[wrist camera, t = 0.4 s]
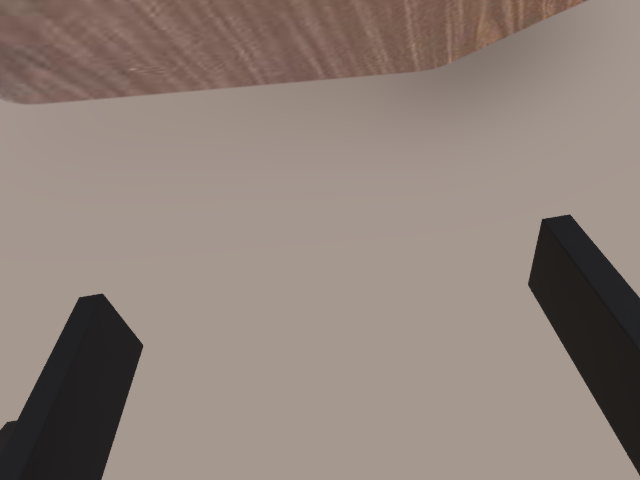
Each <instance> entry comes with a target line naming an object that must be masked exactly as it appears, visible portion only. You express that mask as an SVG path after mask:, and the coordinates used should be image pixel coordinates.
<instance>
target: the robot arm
mask: <svg viewBox="0 0 640 480" xmlns="http://www.w3.org/2000/svg"><path fill="white" fill-rule="evenodd" d="M528 285H529V287H530V289H531V291H532V292H533V294H534V296H535V298H536V299H537V301H538V302H539V304H540V306H541V308H542V309H543V311H544V313H545V314H546V316H547V318H548V320H549V321H550V323H551V325H552V327H553V328H554V330H555V332H556V333H557V335H558V337H559V338H560V340H561V342H562V344H563V345H564V347H565V349H566V351H567V352H568V354H569V355H570V357H571V359H572V361H573V362H574V364H575V366H576V368H577V369H578V371H579V373H580V374H581V376H582V378H583V379H584V381H585V383H586V385H587V386H588V388H589V390H590V391H591V393H592V395H593V396H594V398H595V400H596V402H597V403H598V405H599V407H600V408H601V410H602V412H603V414H604V415H605V417H606V419H607V420H608V422H609V424H610V426H611V427H612V429H613V431H614V432H615V434H616V436H617V437H618V439H619V441H620V443H621V444H622V446H623V448H624V449H625V451H626V453H627V455H628V456H629V458H630V460H631V461H632V463H633V465H634V467H635V468H636V470H637V472H638V473H639V475H640V298H639V297H638V295H637V294H636V293H635V292H634V291H633V290H632V288H631V287H630V286H629V285H628V283H627V282H626V281H625V280H624V279H623V277H622V276H621V275H620V274H619V273H618V272H617V270H616V269H615V268H614V267H613V265H612V264H611V263H610V262H609V261H608V259H607V258H606V257H605V256H604V255H603V253H602V252H601V251H600V250H599V249H598V247H597V246H596V245H595V244H594V243H593V241H592V240H591V239H590V238H589V237H588V236H587V234H586V233H585V232H584V231H583V229H582V228H581V227H580V226H579V225H578V223H577V222H576V221H575V220H574V219H573V217H572V216H571V215H564V216H559V217H553V218H546V219H542V222H541V227H540V232H539V236H538V241H537V245H536V250H535V255H534V259H533V264H532V269H531V273H530V278H529V282H528ZM142 349H143V344H142V343H141V342H140V340H139V339H138V338H137V337H136V335H135V334H134V333H133V332H132V330H131V329H130V328H129V327H128V325H127V324H126V323H125V321H124V320H123V319H122V317H121V316H120V315H119V314H118V312H117V311H116V310H115V309H114V307H113V306H112V305H111V304H110V302H109V301H108V300H107V298H106V297H105V296H104V295H103V294H97V295H91V296H86V297H79V299H78V301H77V303H76V305H75V307H74V309H73V311H72V313H71V315H70V317H69V319H68V321H67V323H66V325H65V327H64V329H63V331H62V333H61V335H60V337H59V339H58V341H57V343H56V345H55V347H54V349H53V351H52V353H51V355H50V357H49V359H48V361H47V363H46V364H45V366H44V369H43V370H42V373H41V375H40V376H39V378H38V380H37V382H36V384H35V386H34V388H33V390H32V392H31V394H30V396H29V398H28V400H27V402H26V404H25V406H24V408H23V410H22V412H21V414H20V416H19V418H18V420H17V421H11V422H7V423H6V424H5V425H4V426H3V428H2V429H1V430H0V480H101V479H102V476H103V473H104V469H105V466H106V463H107V460H108V457H109V453H110V450H111V447H112V443H113V441H114V438H115V434H116V431H117V428H118V425H119V422H120V418H121V415H122V412H123V409H124V405H125V402H126V399H127V396H128V393H129V390H130V387H131V383H132V380H133V377H134V374H135V371H136V368H137V364H138V361H139V358H140V355H141V352H142Z"/></svg>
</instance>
